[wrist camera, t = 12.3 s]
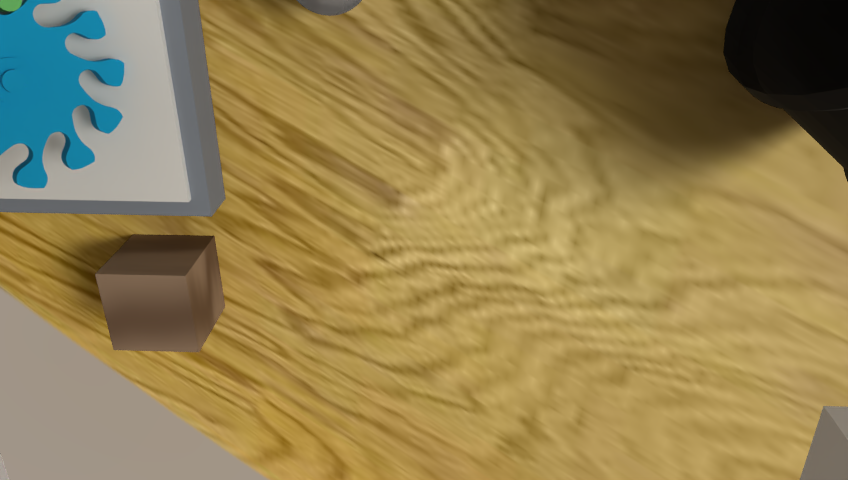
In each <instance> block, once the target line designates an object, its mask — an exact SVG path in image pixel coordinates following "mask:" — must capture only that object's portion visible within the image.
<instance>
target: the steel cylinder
mask: <svg viewBox="0 0 848 480" xmlns="http://www.w3.org/2000/svg"><path fill="white" fill-rule="evenodd" d="M297 1H298V2H299V3H300V4H301V5H302V6H304V7H305V8H307V9H308V10H310V11H312V12H315V13H317V14H321V15H339V14H342V13H345V12H347V11H349V10H351V9H353V8H354V7H355V6H357V5H358V4H359V3H360V2H361V1H362V0H297Z"/></svg>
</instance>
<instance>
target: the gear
mask: <svg viewBox="0 0 848 480" xmlns="http://www.w3.org/2000/svg"><path fill="white" fill-rule="evenodd" d="M59 1H60V0H23V1H22V0H0V155H1V154H3V153H4V152H5V151H6V150H7V149H9V148H10V147H12V146H13V145H15V144H20V143H21V144H25V145H26V146H27V148H28V151H29V154H28V157H27V159H26V160H25V161H23V162H22V163H21V164H19V165H18V166H17V167H16V168H15V169H14V171H13V175H12V178H13V181H14V183H16V184H17V185H19V186H22V187H26V188H45V186H46V185H47V182H48V177H47V174H46V171H45V169H44V166H43V159H42V157H43V150H44V147H45V144H46V142H47V139H48V137H49V136H50V135H51V134H52V133H55V132H61V133H62V134H63V135H64V137H65V146H64V148H63V151H62V154H61V159H62V162H63V163H64V165H65V166H67V167H68V168H70V169H72V170H76V169H80V168H83V167H86V166H88V165H90V164H91V163H93V162H95V155H94V153H93V151H92V150H91V149H90V148H88V147H87V146H86V145H85V144H84V143H83V142H82V141H81V140H80V138H79V137H78V135H77V133H76V131H75V128H74V124H73V118H72V113H73V110H74V109H75V108H76V107H77V106H80V105H84V106H86V107H87V109H88V110H89V113H90V119H91V123H92V125H93V127H94V128H95V129H97V130H98V131H101V132H104V133H107V134H109V133H111V132H112V131H113V130H114V129H115V128H116V127H117V126H118V125H119V123H120V121H121V120H122V118H123V116H122V114H121V113H120V111H118V110H117V109H115V108H113V107H109V106H104V105H101V104H100V103H98V102H96V101H95V100H93V99H92V98H91V97H90V96H89V95H88V94H87V93H86V92H85V91H84V89H83V88H82V87H81V85H80V83H79V76H80V74H81V73H82V72H83V71H85V70H90V71H92V72H93V73H94V75H95V76H96V77H97V78H98V80H99V81H100V82H102V83H103V84H105V85H110V86H121V84H122V82H123V78H124V63H123V62H122V61H120V60H117V59H110V58H107V59H102V60H98V61H88V60H85V59H82V58H80V57H77V56H75V55H73V54H71V53H70V52H69V51H68V50H67V49H66V46H65V40H66V38H67V36H68V35H70V34H72V33H75V34H77V35H79V36H81V37H83V38H86V39H100V38H102V37H104V36H105V35H106V31H105V27H104V24H103V22H102V19H101V18H100V16H99V14H98V12H97V11H93V10H92V11H82V12H80V13H78V14H77V15H76V16H75V17H74V18H73V19H72V20H71V21H70V22H68V23H66V24H64V25H61V26H56V27H42V26H40V25H39V24H38V23H36V21H35V20H34V17H33V10H34V8H35V7H36V6H37V5H39V4H51V3H57V2H59ZM9 11H10V12H9Z"/></svg>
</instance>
